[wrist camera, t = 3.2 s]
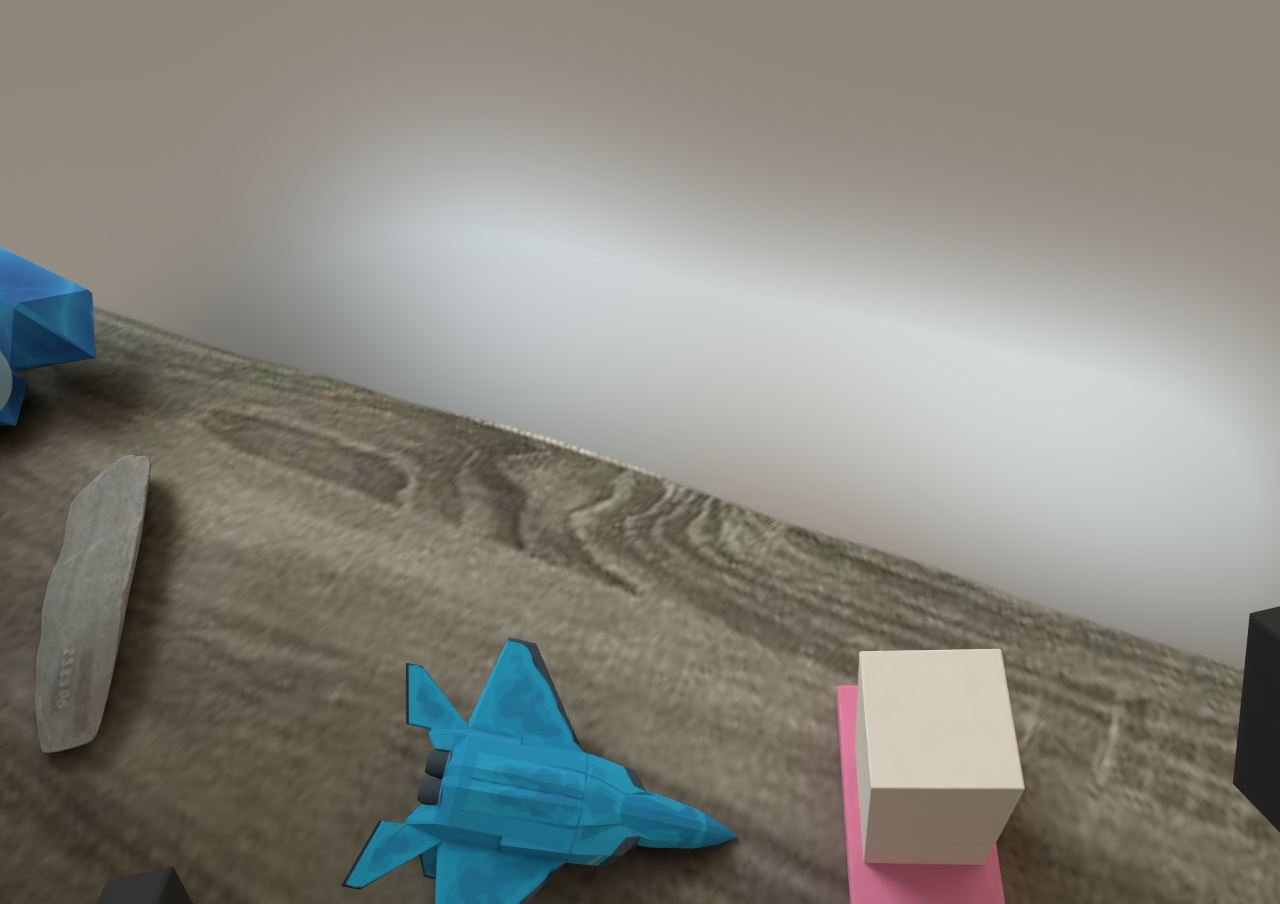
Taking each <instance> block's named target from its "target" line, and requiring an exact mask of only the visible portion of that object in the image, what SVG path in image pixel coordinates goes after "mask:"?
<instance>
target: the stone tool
mask: <svg viewBox="0 0 1280 904" xmlns="http://www.w3.org/2000/svg"><path fill="white" fill-rule="evenodd" d="M150 470H151V460H150V459H149V458H148V457H147V456H137V457H136V456H134V455H128V456H126V457H124V458H119V459H117V460H116V461H115V462H114V463H113V464H112V465H111V466H110V467H108V468H106V469H105V470H104V471H103V472H102V473H101V474H100V475H99V476H97V477H96V478H95V479H94V480H93V481H92V482H91V483H90V484H89V485H88V486H87V487H85V488H84V489H83V490H82V491H81V492H80V493H79V494H78V495H77V496H76V498H75V499H74V500H73V502H72V503H71V505H70V508H69V513H68V518H67V522H66V526H65V538H64V543H63V548H62V551H61V553H60V556H59V559H58V561H57V563H56V565H55V567H54V568H53V570H52V572H51V577H50V580H49V582H48V586H47V590H46V596H45V599H44V603H43V609H42V619H41V626H42V632H41V637H40V644H39V647H38V649H37V657H36V672H37V678H36V690H35V699H34V702H35V704H34V713H35V717H36V720H37V730H38V738H39V741H40V742H41V750H42V751H43V752H46V753H52V752H58V751H63V750H66V749H71V748H74V747H77V746H81V745H83V744H87V743H89V742H90V741H92V740H93V739H94V738H95V737H96V735H97V733H98V730H99V727H100V723H101V719H102V716H103V712H104V708H105V704H106V701H107V697H108V693H109V688H110V684H111V680H112V676H113V671H114V667H115V662H116V657H117V653H118V648H119V643H120V639H121V634H122V629H123V624H124V618H125V613H126V608H127V604H128V598H129V593H130V589H131V584H132V580H133V575H134V570H135V566H136V562H137V557H138V552H139V547H140V542H141V535H142V529H143V522H144V515H145V508H146V501H147V494H148V486H149V478H150Z"/></svg>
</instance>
